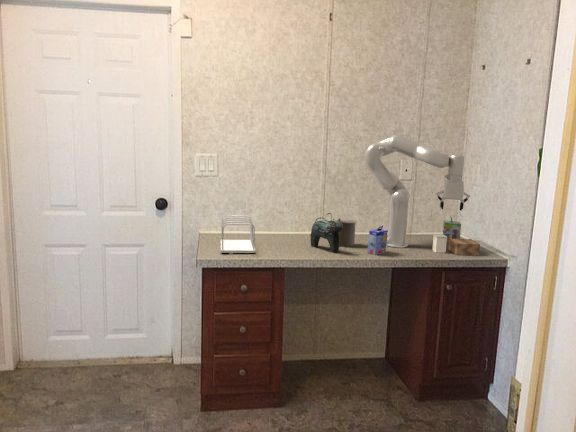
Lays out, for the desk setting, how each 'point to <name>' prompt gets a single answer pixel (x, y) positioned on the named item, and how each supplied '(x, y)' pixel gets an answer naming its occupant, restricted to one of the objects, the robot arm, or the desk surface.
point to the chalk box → (452, 229)
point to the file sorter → (238, 245)
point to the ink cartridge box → (377, 241)
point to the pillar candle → (347, 233)
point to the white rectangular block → (439, 243)
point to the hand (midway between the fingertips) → (451, 209)
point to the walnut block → (464, 247)
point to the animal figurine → (327, 233)
